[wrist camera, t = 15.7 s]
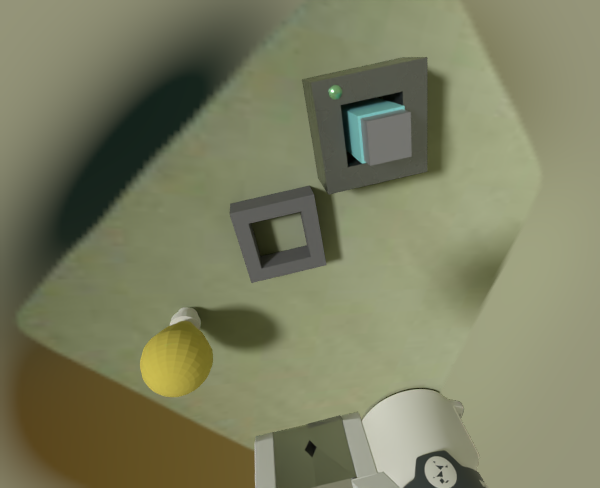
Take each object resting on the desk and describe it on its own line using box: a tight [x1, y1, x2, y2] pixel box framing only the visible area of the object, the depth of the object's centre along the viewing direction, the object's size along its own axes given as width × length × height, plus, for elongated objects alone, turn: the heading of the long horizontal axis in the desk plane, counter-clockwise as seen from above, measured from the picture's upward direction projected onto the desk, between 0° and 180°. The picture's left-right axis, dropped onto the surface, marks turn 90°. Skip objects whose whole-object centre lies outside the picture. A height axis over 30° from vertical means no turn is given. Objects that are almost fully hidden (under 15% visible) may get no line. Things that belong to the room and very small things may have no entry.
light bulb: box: [140, 307, 213, 397], centre depth 35 cm, size 7×7×10 cm
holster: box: [230, 186, 326, 283], centre depth 35 cm, size 8×8×2 cm
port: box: [302, 57, 427, 194], centre depth 30 cm, size 9×9×5 cm
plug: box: [341, 97, 412, 166], centre depth 28 cm, size 4×4×8 cm
